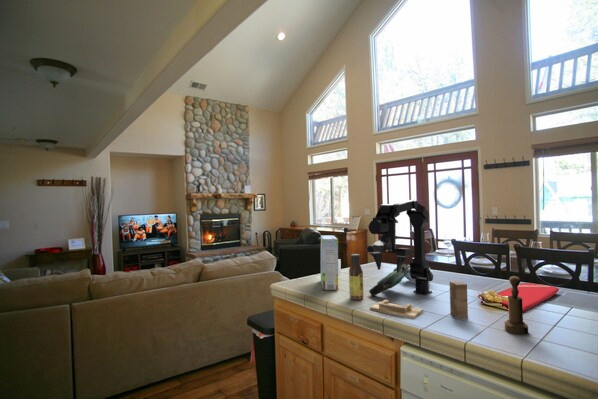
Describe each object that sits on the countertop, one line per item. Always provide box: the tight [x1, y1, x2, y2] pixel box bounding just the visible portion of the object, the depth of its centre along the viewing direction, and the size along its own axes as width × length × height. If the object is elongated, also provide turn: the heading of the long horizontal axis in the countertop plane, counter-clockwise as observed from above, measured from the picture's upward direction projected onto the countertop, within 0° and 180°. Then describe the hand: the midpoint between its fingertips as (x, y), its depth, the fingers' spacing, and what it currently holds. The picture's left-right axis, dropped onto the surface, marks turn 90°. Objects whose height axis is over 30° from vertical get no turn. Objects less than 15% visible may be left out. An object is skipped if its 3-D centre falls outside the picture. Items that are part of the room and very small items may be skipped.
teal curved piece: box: [368, 263, 410, 297], centre depth 156 cm, size 20×6×20 cm
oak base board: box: [369, 299, 424, 319], centre depth 132 cm, size 10×18×3 cm, turn 52°
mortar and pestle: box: [504, 275, 529, 336], centre depth 109 cm, size 7×6×18 cm
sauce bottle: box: [348, 253, 365, 301], centre depth 150 cm, size 6×6×20 cm
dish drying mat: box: [480, 282, 560, 312], centre depth 143 cm, size 16×41×4 cm, turn 125°
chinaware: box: [404, 264, 431, 284], centre depth 178 cm, size 15×15×8 cm
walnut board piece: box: [449, 280, 469, 320], centre depth 124 cm, size 5×4×12 cm
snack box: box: [320, 234, 339, 291], centre depth 175 cm, size 22×9×26 cm, turn 179°
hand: (388, 271), depth 139 cm, fingers open, 9 cm apart
